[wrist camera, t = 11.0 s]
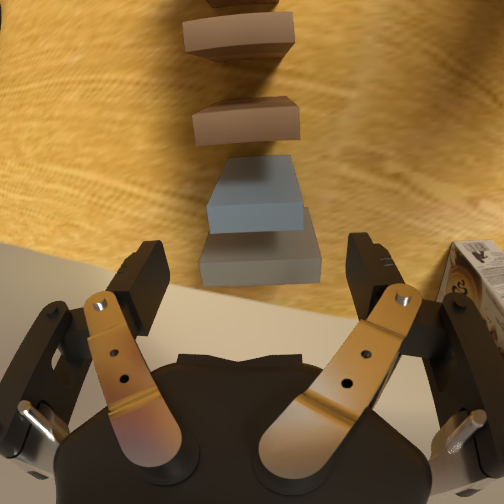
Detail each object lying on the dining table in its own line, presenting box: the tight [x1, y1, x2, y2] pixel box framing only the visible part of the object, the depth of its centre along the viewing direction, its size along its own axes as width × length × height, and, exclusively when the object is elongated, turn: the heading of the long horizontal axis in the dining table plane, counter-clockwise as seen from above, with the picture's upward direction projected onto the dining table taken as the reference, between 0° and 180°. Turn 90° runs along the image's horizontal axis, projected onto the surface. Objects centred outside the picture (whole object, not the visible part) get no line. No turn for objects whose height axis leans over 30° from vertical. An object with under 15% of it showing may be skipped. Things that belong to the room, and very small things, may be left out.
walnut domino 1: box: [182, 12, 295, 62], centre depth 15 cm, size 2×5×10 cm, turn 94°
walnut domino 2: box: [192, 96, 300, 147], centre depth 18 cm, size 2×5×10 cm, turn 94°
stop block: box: [199, 208, 322, 287], centre depth 24 cm, size 2×8×8 cm, turn 94°
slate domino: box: [206, 155, 304, 234], centre depth 20 cm, size 2×5×10 cm, turn 94°
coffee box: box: [436, 240, 504, 361], centre depth 22 cm, size 9×6×16 cm
